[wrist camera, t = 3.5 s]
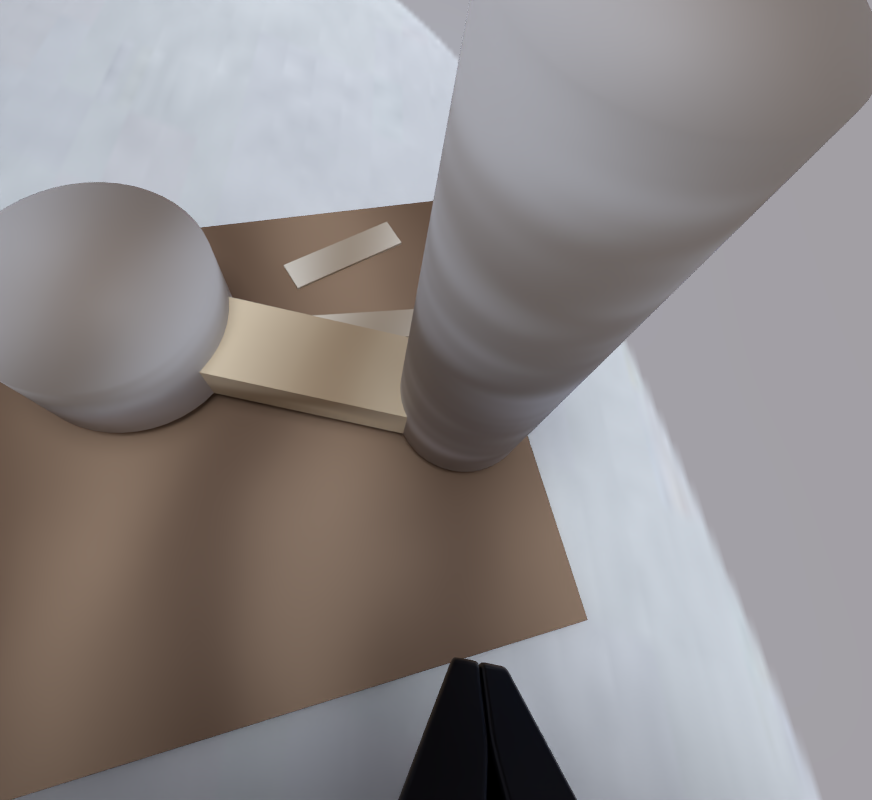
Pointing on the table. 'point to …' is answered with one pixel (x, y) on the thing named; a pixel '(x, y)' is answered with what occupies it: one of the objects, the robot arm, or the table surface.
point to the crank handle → (459, 231)
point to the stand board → (253, 539)
